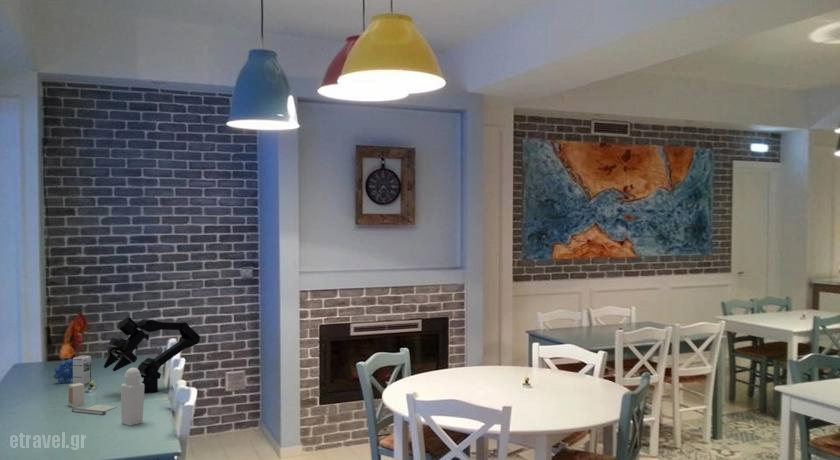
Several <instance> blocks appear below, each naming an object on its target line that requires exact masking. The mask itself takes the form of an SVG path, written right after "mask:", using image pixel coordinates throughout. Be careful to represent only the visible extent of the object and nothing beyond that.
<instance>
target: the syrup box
mask: <svg viewBox="0 0 840 460" xmlns="http://www.w3.org/2000/svg"><path fill="white" fill-rule="evenodd" d="M72 360H73V379H72V384H77V383H81V384H84V388H86V387H89V386H90V385H89V383H90V382H91V383H92V356H91V355H79V356H75V357H73V358H72ZM88 385H89V386H88Z"/></svg>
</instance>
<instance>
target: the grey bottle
mask: <svg viewBox="0 0 840 460" xmlns="http://www.w3.org/2000/svg"><path fill="white" fill-rule="evenodd" d="M140 378H141V374H140V371H139V370H138V367H129V368H128V369H127V370H126V371H125V374H124V379H125V380H126V383H121V385H120V410H121V411H120V414H121V425H126V426H130V427H131V426H135V425H138V424H142V423H143V418H144V417H143V416H144V402H145V401H144V400H145V393H144V387H145V385H144V384H143V383H142V382H139V381H140Z"/></svg>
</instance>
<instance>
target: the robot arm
mask: <svg viewBox="0 0 840 460" xmlns="http://www.w3.org/2000/svg"><path fill="white" fill-rule="evenodd" d="M116 328H117V329H119V330H120V331H121V333H123V334H124V335H125V336H128V337H127V338H126V339H125V338H123V337H119V338H116V337H111V338H110V341H109V343H108V345H110V346H109V347H108V348H107V359H106V361H105V362H104V365H103V369H107V368H108V367H110V366H111V365H113V364H115V363H116V364H115V366H114V367H113V368H112V371H113V372H116V371H118V370H121V369H122V368H125V367H126V366H128V365H132V364H133V363H134V364H135V363H136V362H137V360H138V359H137V358H138V356H137V355H136V354H135V353H133V352H134V351H137V350H138V349H139V347H138V346H139V345H140V344H141V343H142V342H143V341H144V340H147V341H150V334H149V333H152V332H158V331H162V330H163V331H164V330H165V331H178V332H179V335H180V338H179V340H178V342H176V343H175V344H173V345H171V346H170V347H169V348H167V349H166V350H164V351H163V352H161V353H160V354H158V355H157V356H156V357H154V358H152V357H147V358H145V359H144V360H143V361H141V362H140V364H138V367H137V369H138V370H139V371H140V374H141V376H140V378H142V379H143V380H142V381H141V383H143V384H144V385H145V387H144V394H147V393H157V392H158V391H159V379H161V375H162V374H161V373H160V372H159V370H160V368H161V366H162V365H164V364H165V363H167V362H168V361H170V360H171V359H173V358H174V357H175V356H176V355H178V354H180V353H181V352H182V351H184V350H185V349H188V348H192V347H195V346H197V345H198V344H200V340H201V336H200V334H199V333H197V332H196V331H195V330H194V329H193V328H192V327H191V326H190V325H189V324H188V323H187V322H185V321H158V320H154V319H148V318H142V319H141V320H140V321H138V322H135V321H134V320H133V319H132V318H131V317H130V316H127V317H126V318H124V319H122V320H121V321H119V322H118V324H117V327H116ZM145 332H146V333H145ZM147 332H148V333H147Z"/></svg>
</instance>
